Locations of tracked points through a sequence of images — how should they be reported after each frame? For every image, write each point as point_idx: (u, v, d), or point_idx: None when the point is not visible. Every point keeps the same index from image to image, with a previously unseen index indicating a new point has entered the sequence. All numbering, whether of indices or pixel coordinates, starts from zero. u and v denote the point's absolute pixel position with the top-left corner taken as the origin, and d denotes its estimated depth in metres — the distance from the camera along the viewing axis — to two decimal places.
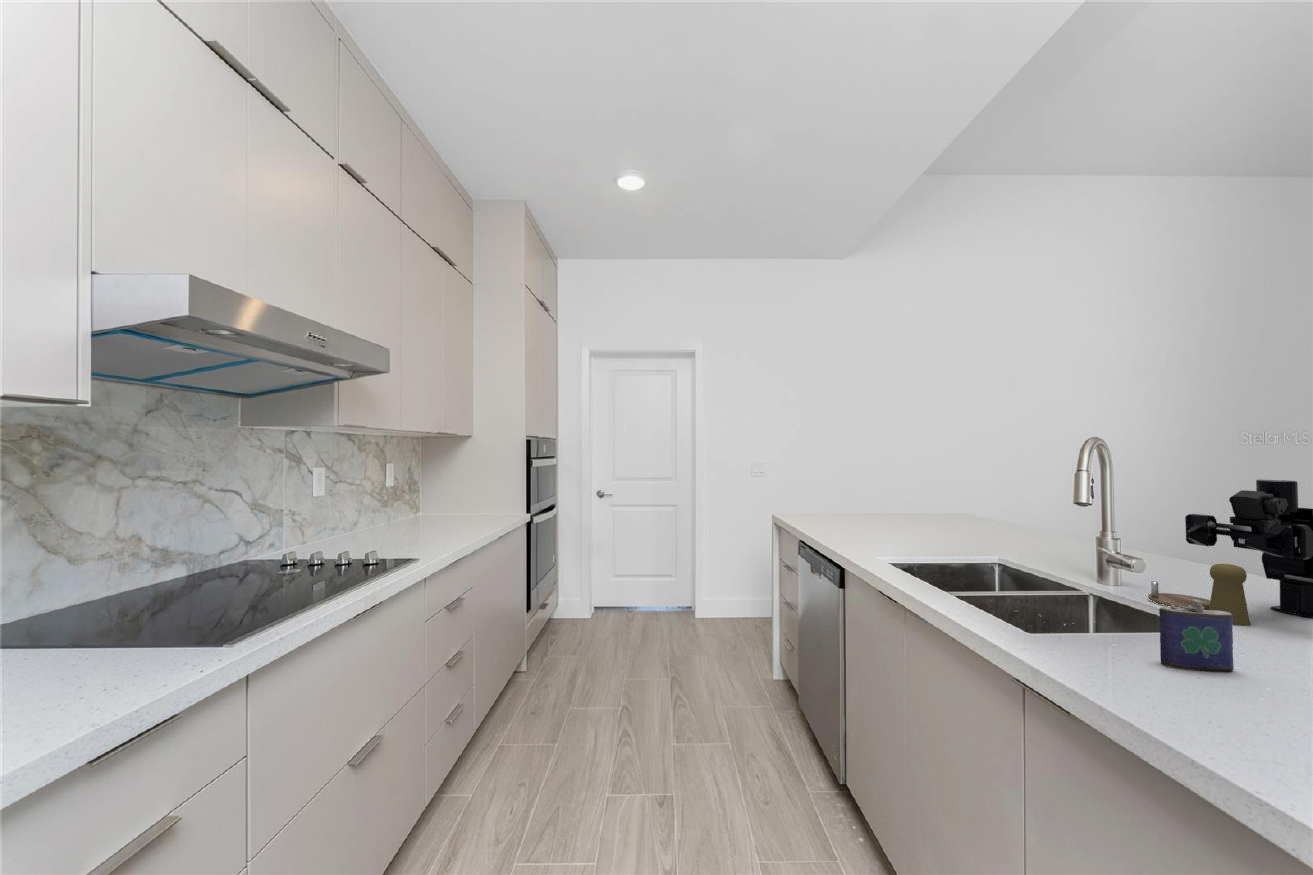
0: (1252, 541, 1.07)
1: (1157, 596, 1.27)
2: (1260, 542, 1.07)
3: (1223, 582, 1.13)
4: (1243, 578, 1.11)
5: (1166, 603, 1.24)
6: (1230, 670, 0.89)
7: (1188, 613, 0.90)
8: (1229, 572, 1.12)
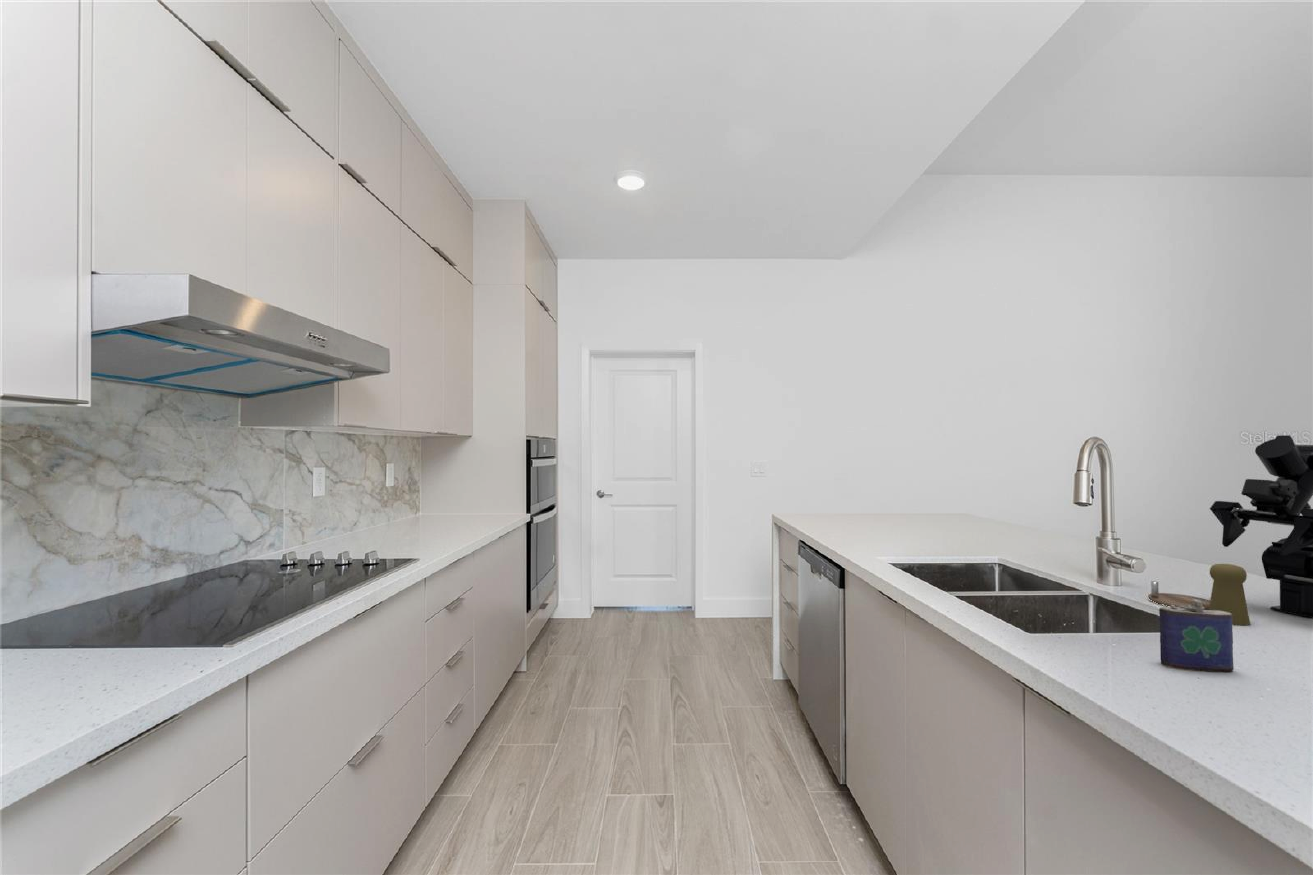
0: (1286, 550, 1.11)
1: (1157, 596, 1.27)
2: (1293, 545, 1.10)
3: (1223, 582, 1.13)
4: (1243, 578, 1.11)
5: (1166, 603, 1.24)
6: (1230, 670, 0.89)
7: (1188, 613, 0.90)
8: (1229, 572, 1.12)
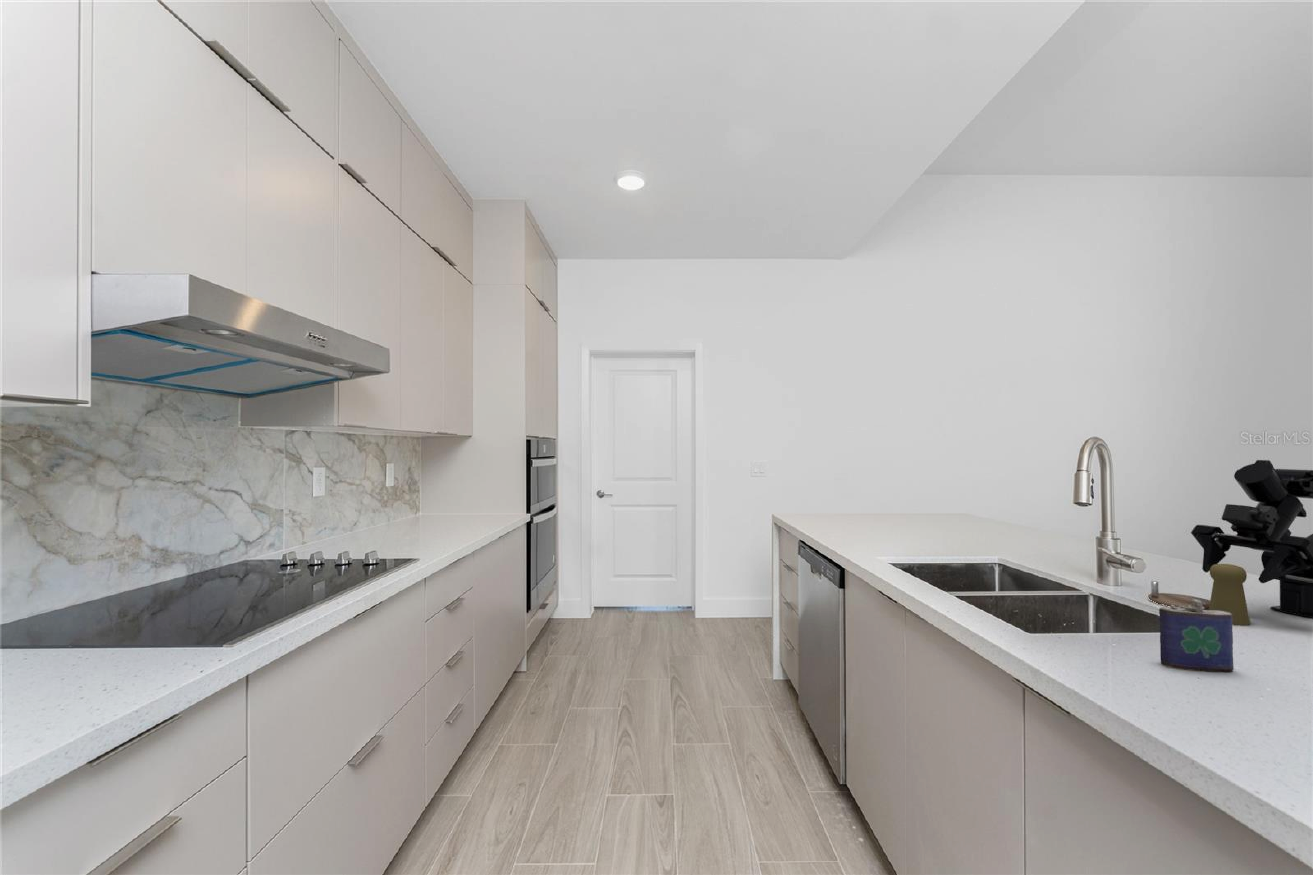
0: (1265, 577, 1.09)
1: (1157, 596, 1.27)
2: (1273, 573, 1.09)
3: (1223, 582, 1.13)
4: (1243, 578, 1.11)
5: (1166, 603, 1.24)
6: (1230, 670, 0.89)
7: (1188, 613, 0.90)
8: (1229, 572, 1.12)
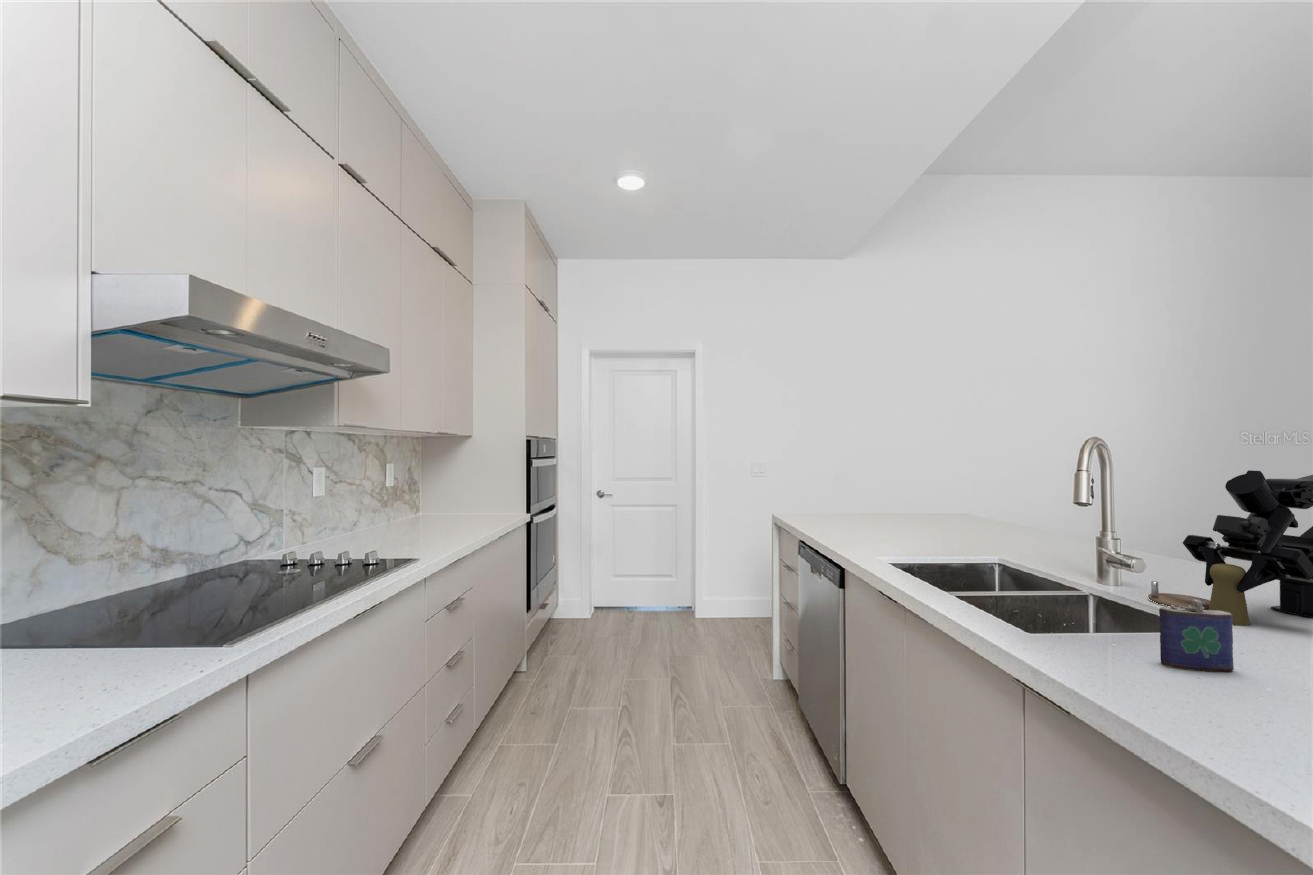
0: (1244, 587, 1.11)
1: (1157, 596, 1.27)
2: (1251, 582, 1.10)
3: (1223, 582, 1.13)
4: None
5: (1166, 603, 1.24)
6: (1230, 670, 0.89)
7: (1188, 613, 0.90)
8: (1229, 572, 1.12)
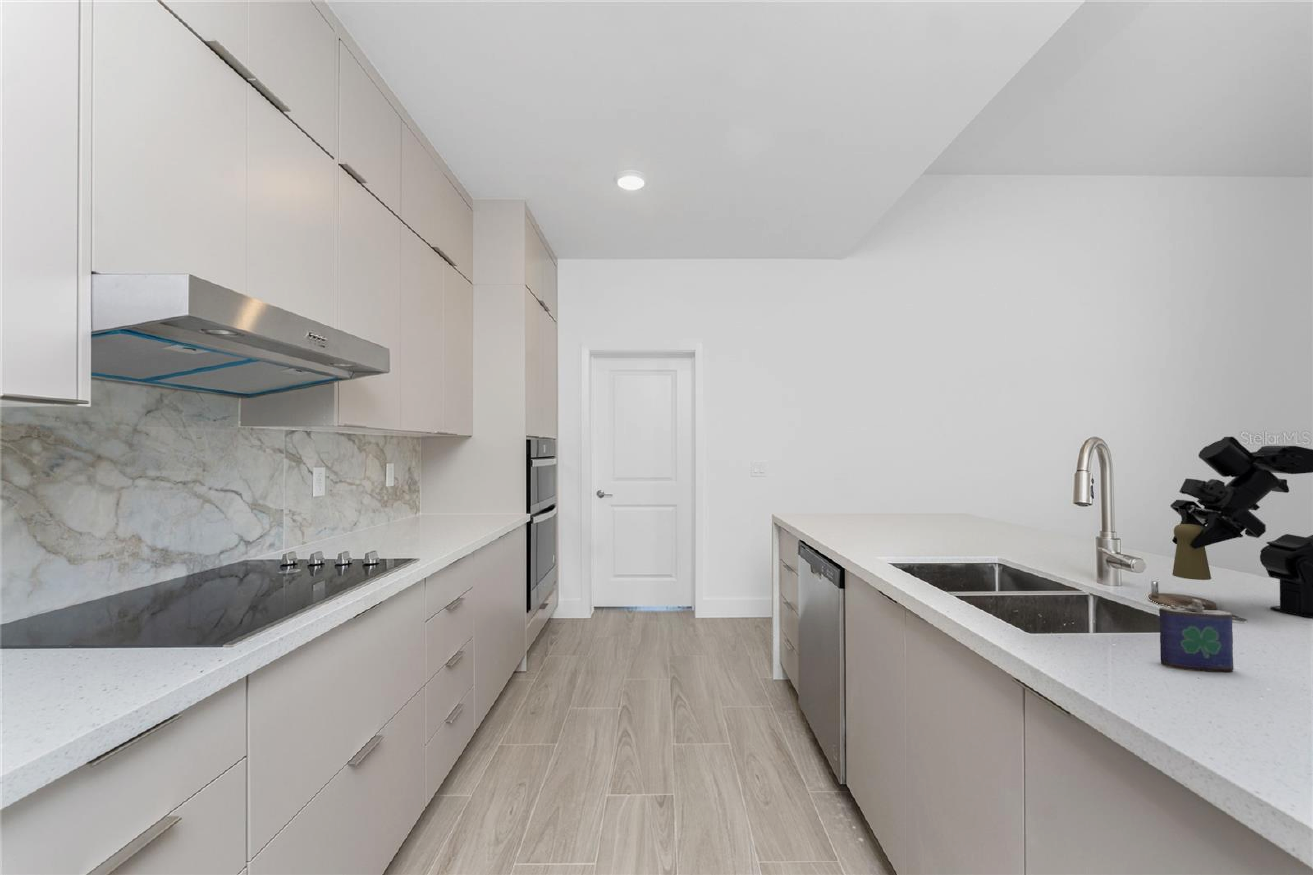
0: (1196, 543, 1.19)
1: (1157, 596, 1.27)
2: (1204, 540, 1.19)
3: (1181, 540, 1.22)
4: None
5: (1166, 603, 1.24)
6: (1230, 670, 0.89)
7: (1188, 613, 0.90)
8: (1184, 529, 1.21)
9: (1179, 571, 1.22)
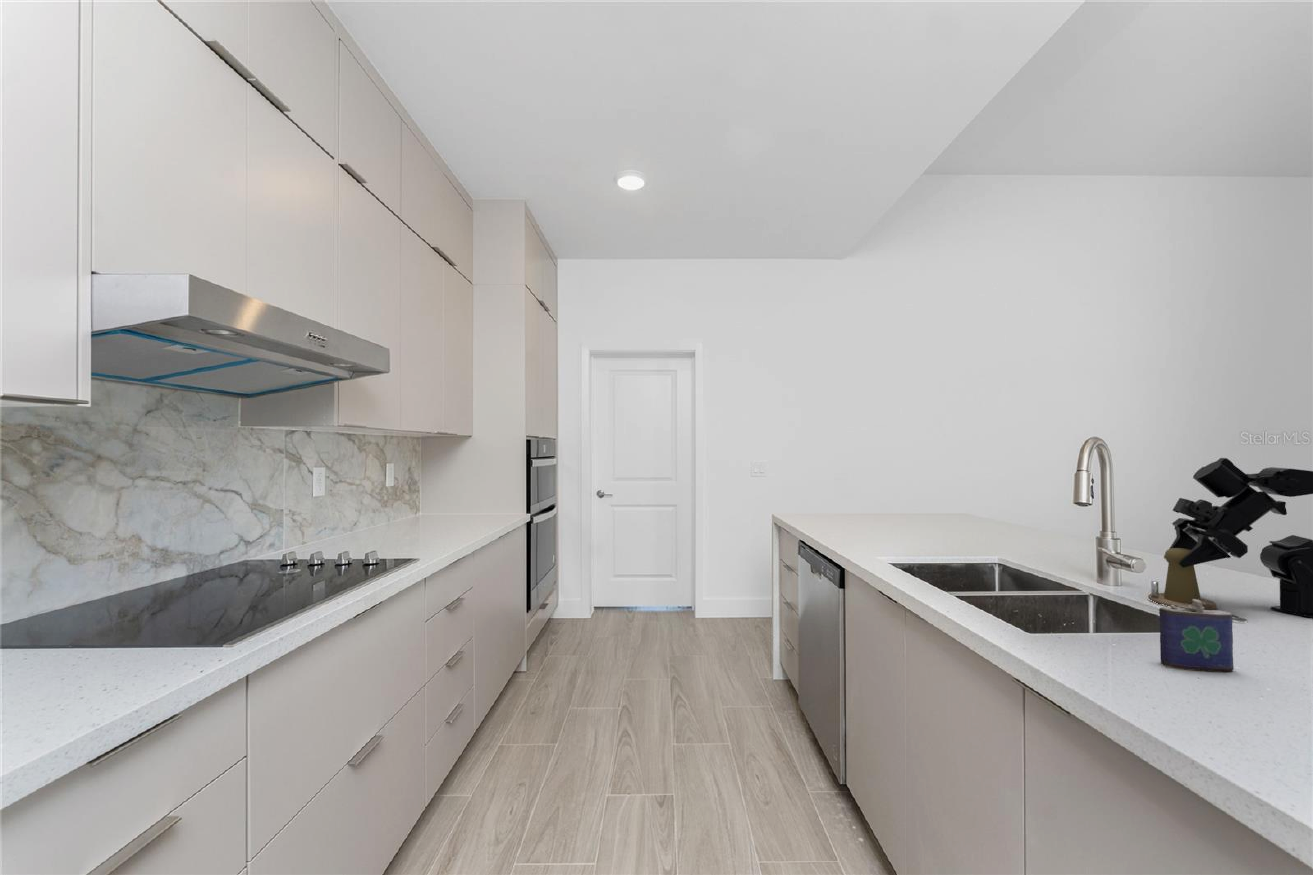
0: (1184, 562, 1.22)
1: (1157, 596, 1.27)
2: (1192, 559, 1.22)
3: (1170, 563, 1.26)
4: None
5: (1166, 603, 1.24)
6: (1230, 670, 0.89)
7: (1188, 613, 0.90)
8: (1172, 554, 1.25)
9: (1168, 594, 1.26)
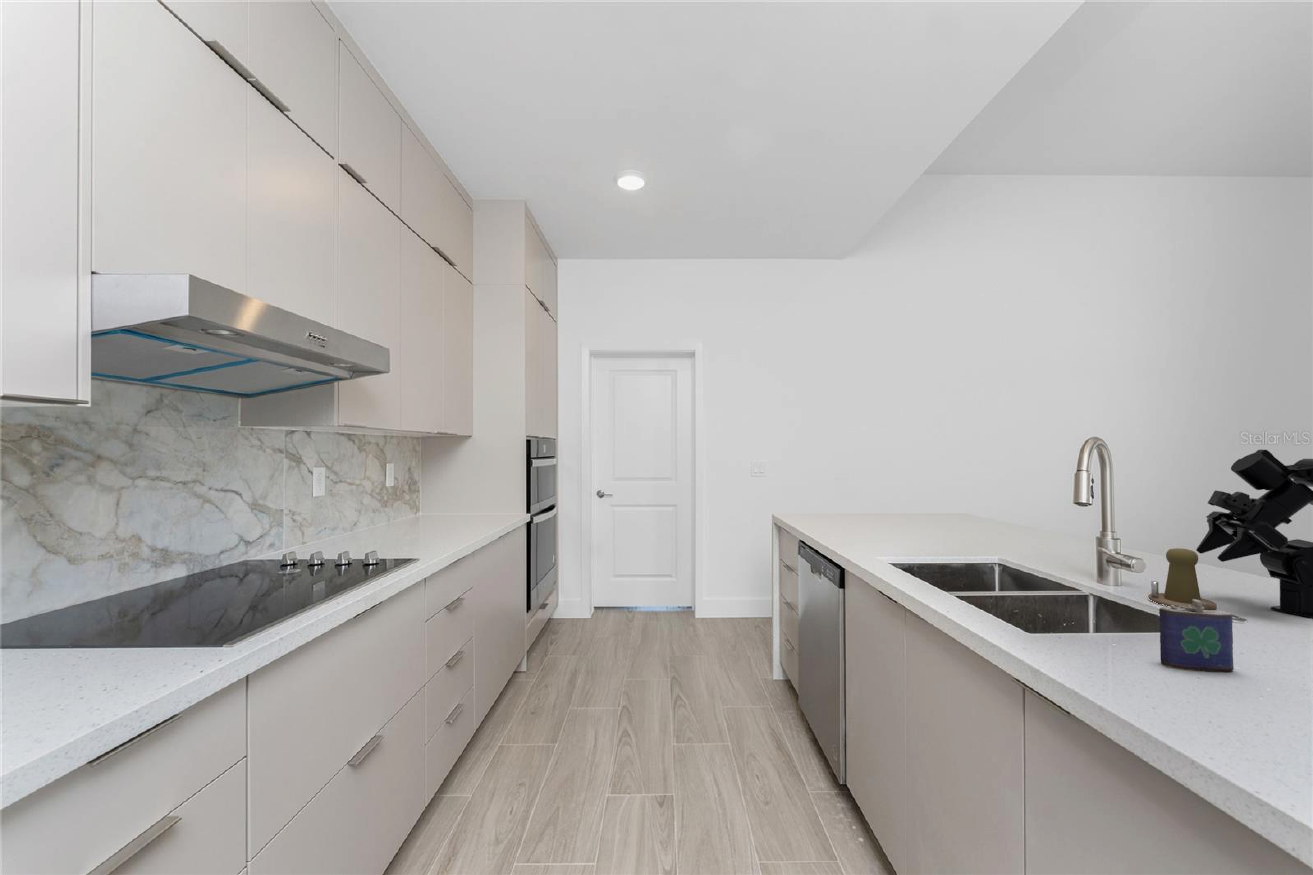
0: (1223, 556, 1.19)
1: (1157, 596, 1.27)
2: (1232, 553, 1.18)
3: (1171, 563, 1.26)
4: (1187, 561, 1.23)
5: (1166, 603, 1.24)
6: (1230, 670, 0.89)
7: (1188, 613, 0.90)
8: (1173, 554, 1.25)
9: (1168, 594, 1.26)
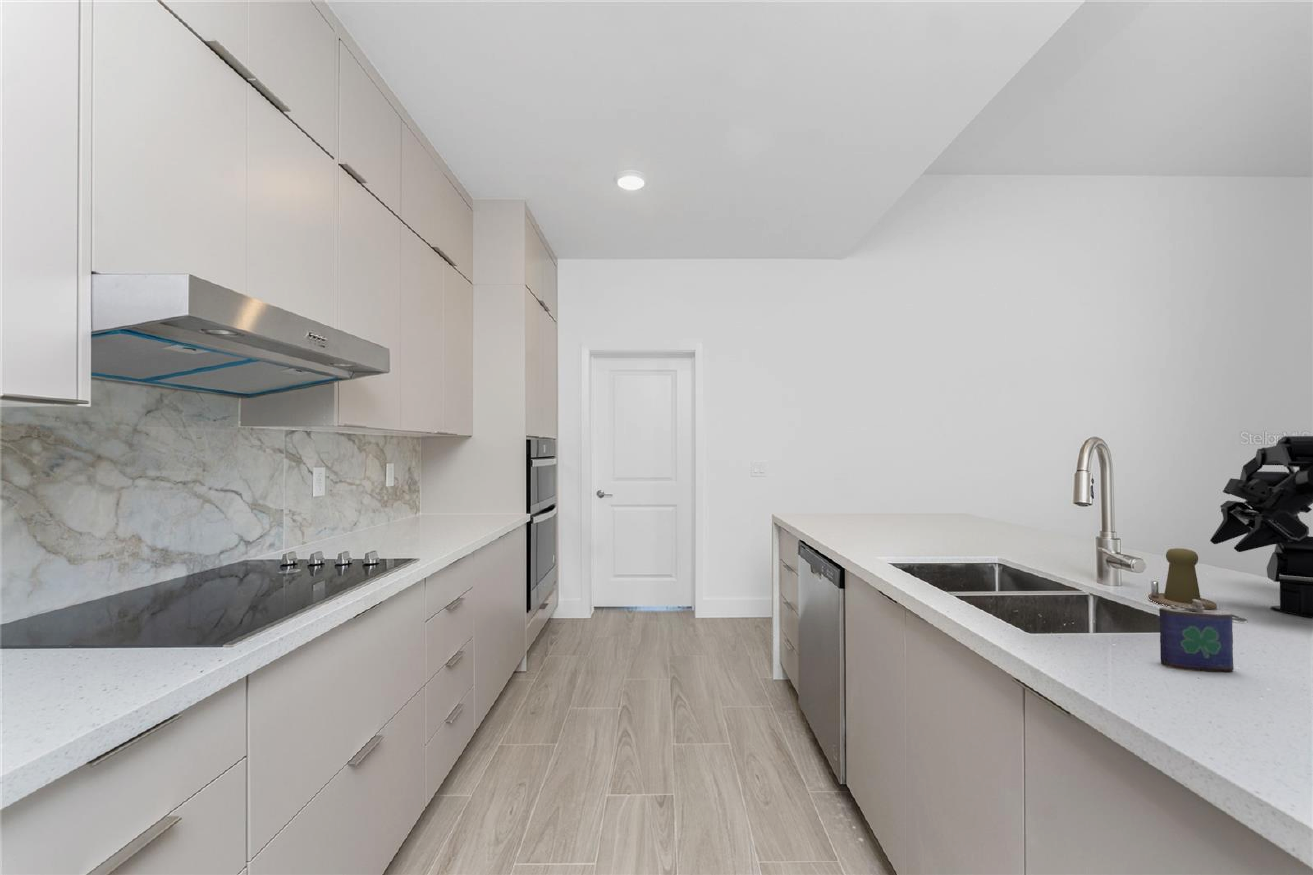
0: (1240, 546, 1.14)
1: (1157, 596, 1.27)
2: (1249, 543, 1.14)
3: (1171, 563, 1.26)
4: (1187, 561, 1.23)
5: (1166, 603, 1.24)
6: (1230, 670, 0.89)
7: (1188, 613, 0.90)
8: (1173, 554, 1.25)
9: (1168, 594, 1.26)
